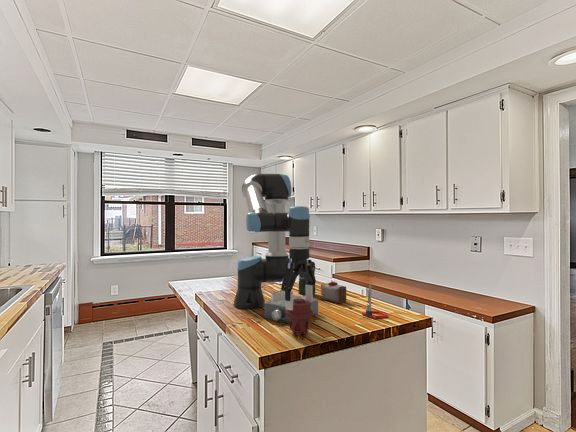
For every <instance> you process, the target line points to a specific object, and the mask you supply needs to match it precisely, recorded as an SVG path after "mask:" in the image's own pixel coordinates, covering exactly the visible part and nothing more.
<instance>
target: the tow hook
mask: <svg viewBox="0 0 576 432" xmlns="http://www.w3.org/2000/svg"><path fill="white" fill-rule="evenodd" d="M367 293H368V295H367V304H366V305H367V306H366V310H365V311H362V312H361V315H362V316H365V317H366V316H367V318H369V319H372V318H373V320H376V319H386V318H387V316H388V314H387V313H386V312H384V311H382V310H381V311H380V310H372V284H368V292H367Z"/></svg>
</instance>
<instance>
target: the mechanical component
mask: <svg viewBox="0 0 576 432" xmlns="http://www.w3.org/2000/svg"><path fill="white" fill-rule="evenodd" d="M286 316H287V317H289V318H290V323H289V329H290V331H291V332H293V333H295V335H296V336H297V337H300V336H301V335H303V334H307V333H308V332H309V329H310V324H309V323H310V321H309V320H310V319H311V318H313V317H314V316H313V311H312V310H311V303H310V302H309V301H307V300H304V299H301V298H297V299H294V300H293V310H286ZM312 316H313V317H312ZM310 317H311V318H310Z"/></svg>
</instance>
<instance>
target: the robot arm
mask: <svg viewBox="0 0 576 432" xmlns="http://www.w3.org/2000/svg"><path fill="white" fill-rule="evenodd" d="M292 191H293V190H292V182H291V179H290V177H289V176H288V174H282V173H255V174H251V175H250V176H248V177H247V178H246V179H245V180H244V181H243V183H242V186H241V194H242V196H243V198H245V201H246V205H247V210H248V213H247V214H246V216H245V217H246V218H245V225H246V226H245V227H246V231H248V232H252V233H253V232H254V233H259V232H261V233H266V232H267V234H268V238H267V240H268V241H267V242H268V243H267V245H268V252H267V253H265V256H264V257H265V258H262V256H261V255H252V256H247V257H243V258H240V259H239V260H238V262H237V269H236V270H237V289H236V294H235V297H234V299H233V306H234V307H235V308H238V309H242V310H243V309H245V310H249V309H250V310H251V309H252V310H253V309H258V308H262V307H265V303H266V300H265V299H266V298H265V297H264V293H263V289H262V284H263V283H264V284H266V283H267V284H268V283H281V287H280V291H281V290H282V291H285V309H286V310H293V295H294V290H293V288H294V286H295V282H296V280H297V278H298V277H299V274H301V273H302V275H303V277H304V279H305V281H306V283H307V284H308V285H305V289H306V300H307V301H309V302H311V303H312V302H313V298H314V294H313V287H312V285H315V286H316V282H317V280H316V276H315V275H316V274H315V275H314V272H313V268H312V262H313V261H312V259H310V249H309V247H310V241H311V240H310V208H309V207H307V206H305V205H304V206H301V205H300V206H299V205H298V206H297V205H296V206H290V207H288V208H289V210H288V212H286V203H287V202H288V201H289V198H291V197H292ZM265 202H266V203H267V205H266V203H265ZM286 232H288V234H289V235H288V236H289V237H288V247H289V251H288V253H287V252H286ZM312 278H313V279H312ZM292 290H293V291H292Z"/></svg>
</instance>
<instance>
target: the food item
mask: <svg viewBox="0 0 576 432" xmlns="http://www.w3.org/2000/svg"><path fill="white" fill-rule="evenodd" d="M320 293H321V300H323V301H326V302H327V301H329V302H332V303H335V304H340V305H341V304H344V303H346V302H347V286H345V285H340V284H338V282H337V281H329V282H328V283H327V282H325V283H321V284H320Z"/></svg>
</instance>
